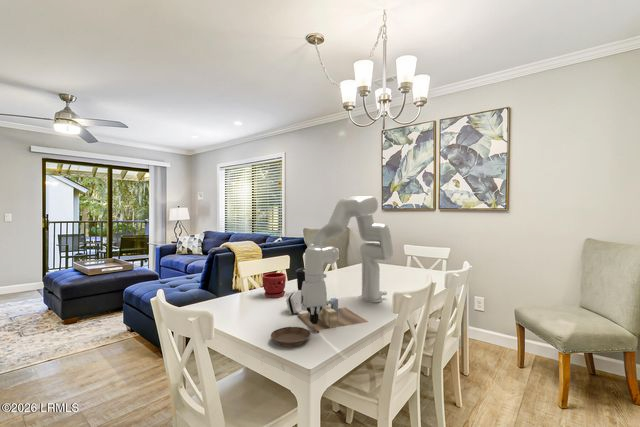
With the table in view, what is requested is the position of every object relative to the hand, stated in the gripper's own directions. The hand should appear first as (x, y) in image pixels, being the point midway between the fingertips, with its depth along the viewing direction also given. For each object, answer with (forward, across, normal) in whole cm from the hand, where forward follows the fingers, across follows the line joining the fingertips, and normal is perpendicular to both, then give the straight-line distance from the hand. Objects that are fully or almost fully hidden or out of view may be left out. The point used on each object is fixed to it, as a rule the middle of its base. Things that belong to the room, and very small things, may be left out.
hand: (313, 323), depth 126 cm
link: (+1, -7, -7) cm, 10 cm away
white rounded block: (+3, -3, -26) cm, 27 cm away
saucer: (+3, +12, +6) cm, 14 cm away
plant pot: (+3, +2, -54) cm, 55 cm away
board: (+2, -11, -6) cm, 13 cm away
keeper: (+2, -12, -8) cm, 15 cm away
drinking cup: (+3, -14, -52) cm, 53 cm away
